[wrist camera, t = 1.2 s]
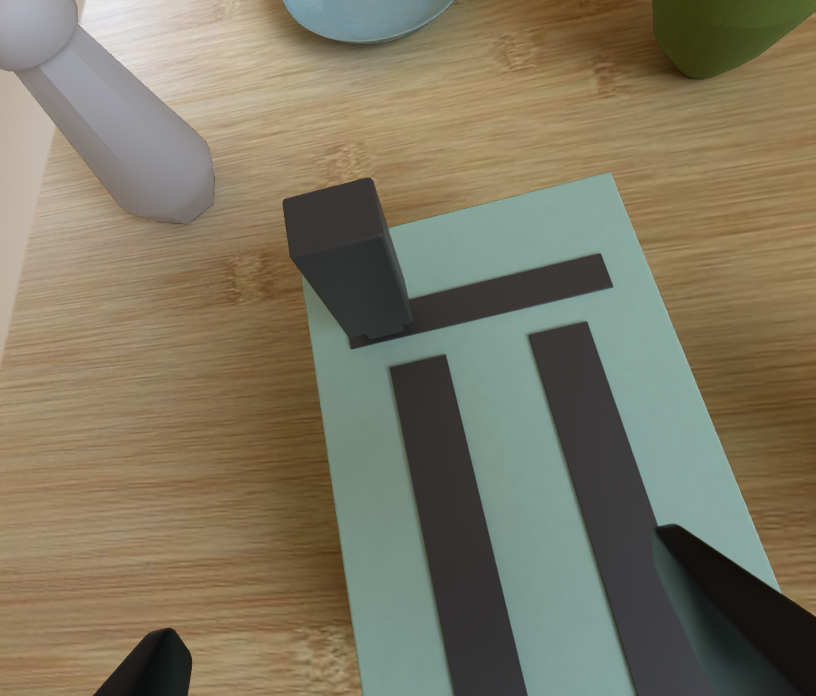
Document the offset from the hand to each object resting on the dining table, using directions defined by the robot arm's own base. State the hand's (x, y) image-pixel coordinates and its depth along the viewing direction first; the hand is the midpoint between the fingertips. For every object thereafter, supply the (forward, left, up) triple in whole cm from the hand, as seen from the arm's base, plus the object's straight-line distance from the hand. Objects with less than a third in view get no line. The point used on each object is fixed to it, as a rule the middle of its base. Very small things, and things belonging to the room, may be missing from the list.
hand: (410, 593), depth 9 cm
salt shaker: (+22, +11, -14) cm, 28 cm away
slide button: (+7, 0, -5) cm, 9 cm away
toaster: (+3, -3, -13) cm, 14 cm away
